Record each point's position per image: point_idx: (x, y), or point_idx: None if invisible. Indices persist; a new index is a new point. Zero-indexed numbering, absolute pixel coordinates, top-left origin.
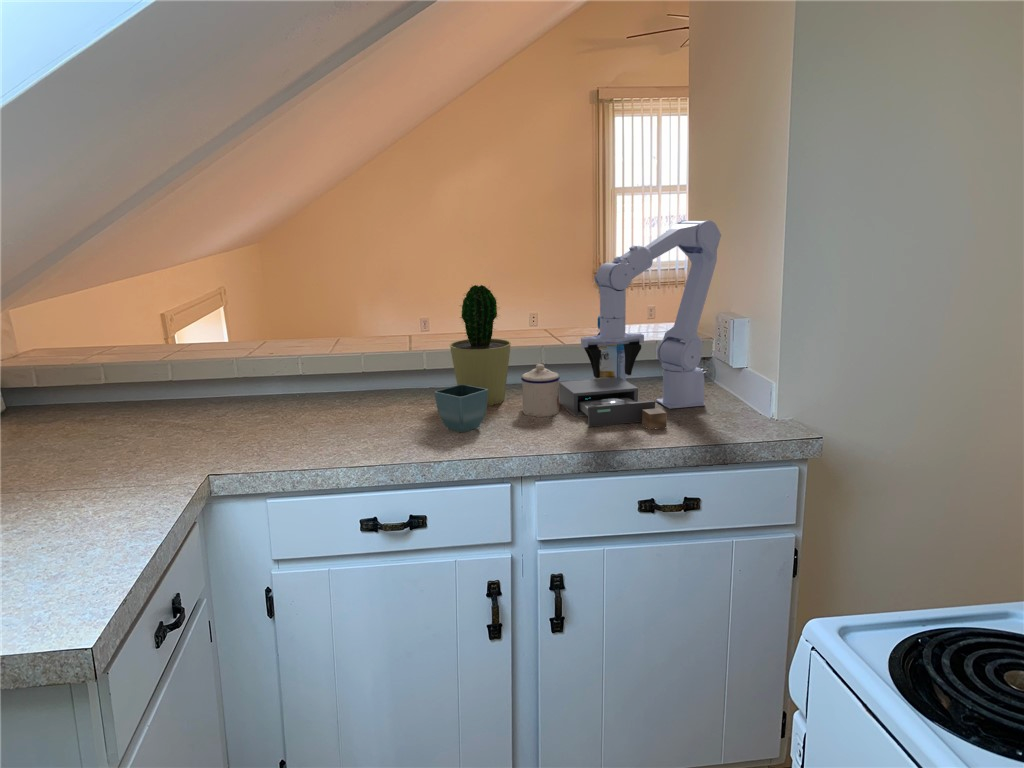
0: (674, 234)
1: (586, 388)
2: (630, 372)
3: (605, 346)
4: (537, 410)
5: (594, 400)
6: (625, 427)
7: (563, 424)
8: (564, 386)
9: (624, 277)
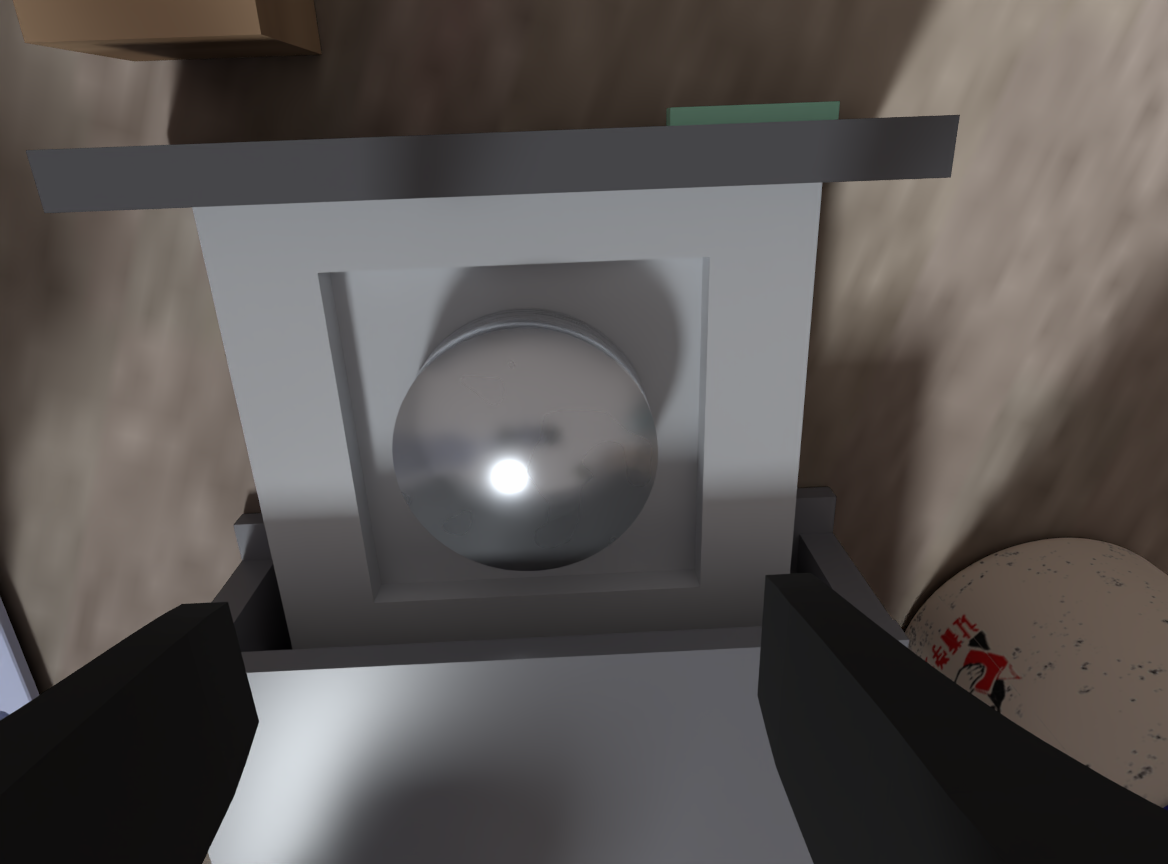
0: None
1: (704, 776)
2: (165, 621)
3: None
4: (1160, 572)
5: None
6: (515, 12)
7: (1028, 290)
8: None
9: None
